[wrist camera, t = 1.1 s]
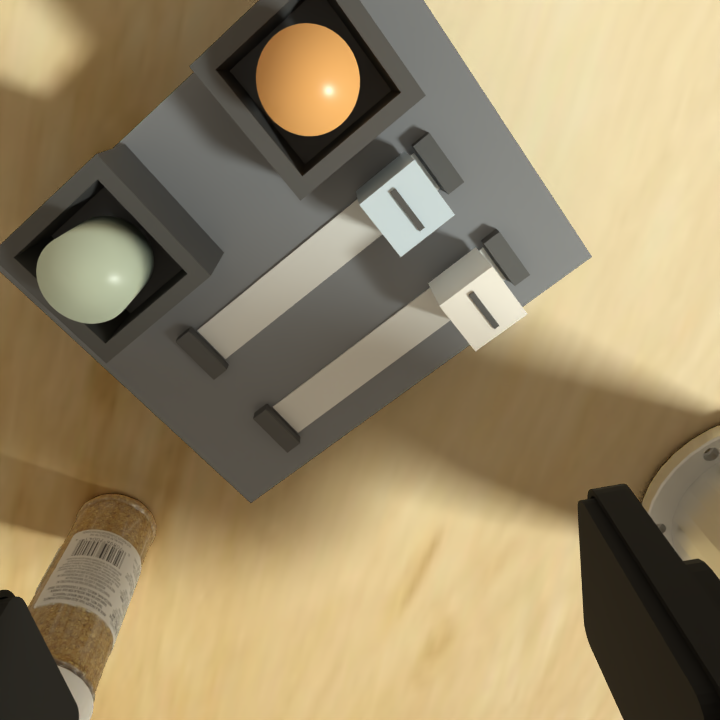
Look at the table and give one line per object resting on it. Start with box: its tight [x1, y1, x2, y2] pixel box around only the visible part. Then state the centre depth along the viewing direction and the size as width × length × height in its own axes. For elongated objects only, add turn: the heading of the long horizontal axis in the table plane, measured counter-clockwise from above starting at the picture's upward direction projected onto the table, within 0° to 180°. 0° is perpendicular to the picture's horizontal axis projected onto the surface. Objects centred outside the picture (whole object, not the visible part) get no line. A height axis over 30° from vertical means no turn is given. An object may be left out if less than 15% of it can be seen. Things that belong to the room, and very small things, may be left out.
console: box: [0, 0, 592, 503], centre depth 28 cm, size 16×20×8 cm
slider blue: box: [356, 151, 455, 257], centre depth 25 cm, size 2×2×3 cm
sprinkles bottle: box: [28, 494, 156, 720], centre depth 31 cm, size 5×5×13 cm
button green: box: [36, 216, 154, 324], centre depth 23 cm, size 3×3×3 cm
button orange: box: [256, 23, 360, 136], centre depth 21 cm, size 3×3×3 cm
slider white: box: [428, 247, 527, 351], centre depth 26 cm, size 2×2×3 cm
